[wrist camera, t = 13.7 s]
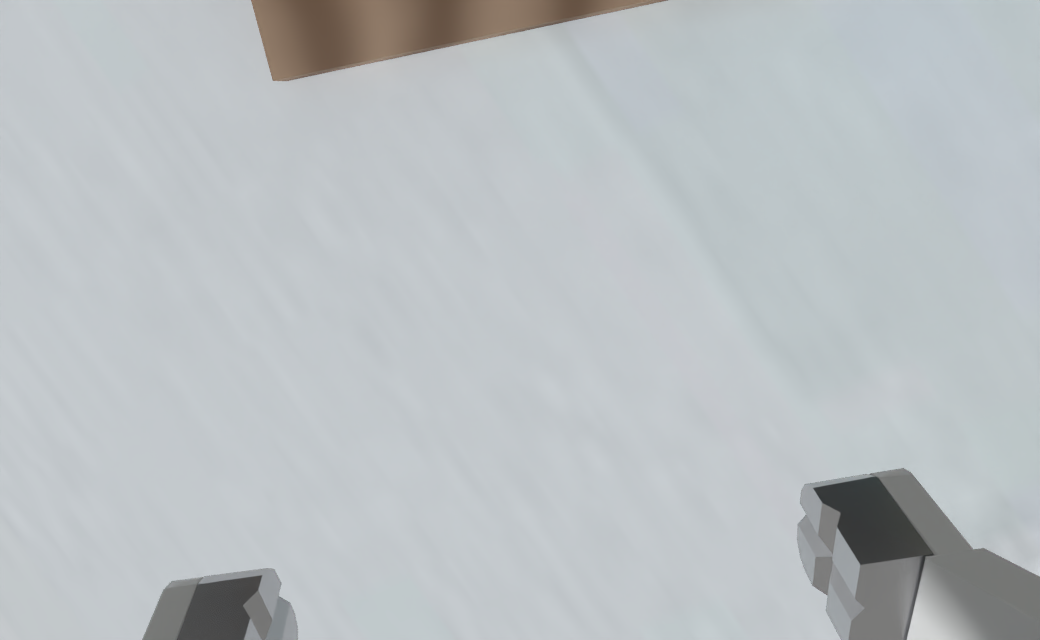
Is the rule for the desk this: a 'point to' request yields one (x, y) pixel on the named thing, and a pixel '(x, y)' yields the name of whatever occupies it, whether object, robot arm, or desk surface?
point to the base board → (398, 27)
